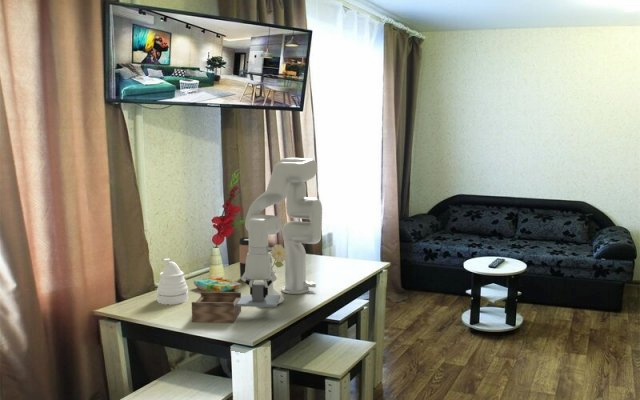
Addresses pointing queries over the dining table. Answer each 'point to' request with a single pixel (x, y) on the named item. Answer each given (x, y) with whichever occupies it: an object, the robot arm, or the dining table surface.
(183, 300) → the honey pot
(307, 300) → the dining table surface
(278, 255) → the flower in vase
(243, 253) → the travel mug
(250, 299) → the cover plate
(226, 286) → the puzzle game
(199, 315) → the walnut box
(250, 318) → the dining table surface
